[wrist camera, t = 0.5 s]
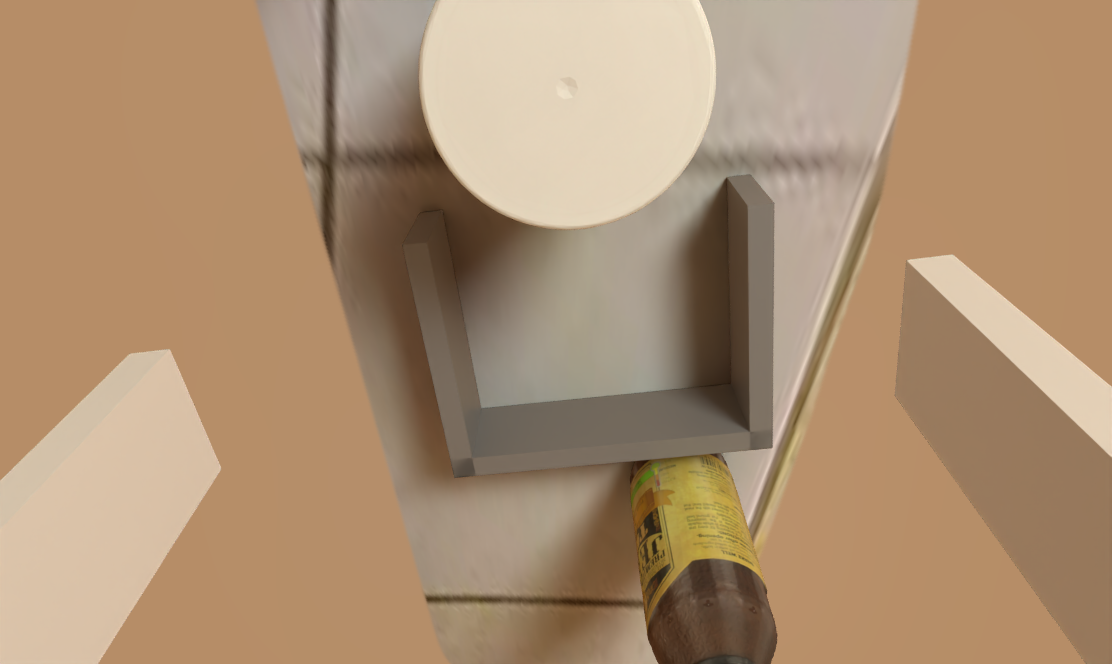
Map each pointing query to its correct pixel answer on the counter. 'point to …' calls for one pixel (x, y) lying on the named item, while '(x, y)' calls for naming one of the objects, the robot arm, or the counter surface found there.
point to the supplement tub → (567, 102)
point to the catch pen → (609, 421)
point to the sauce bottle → (698, 564)
